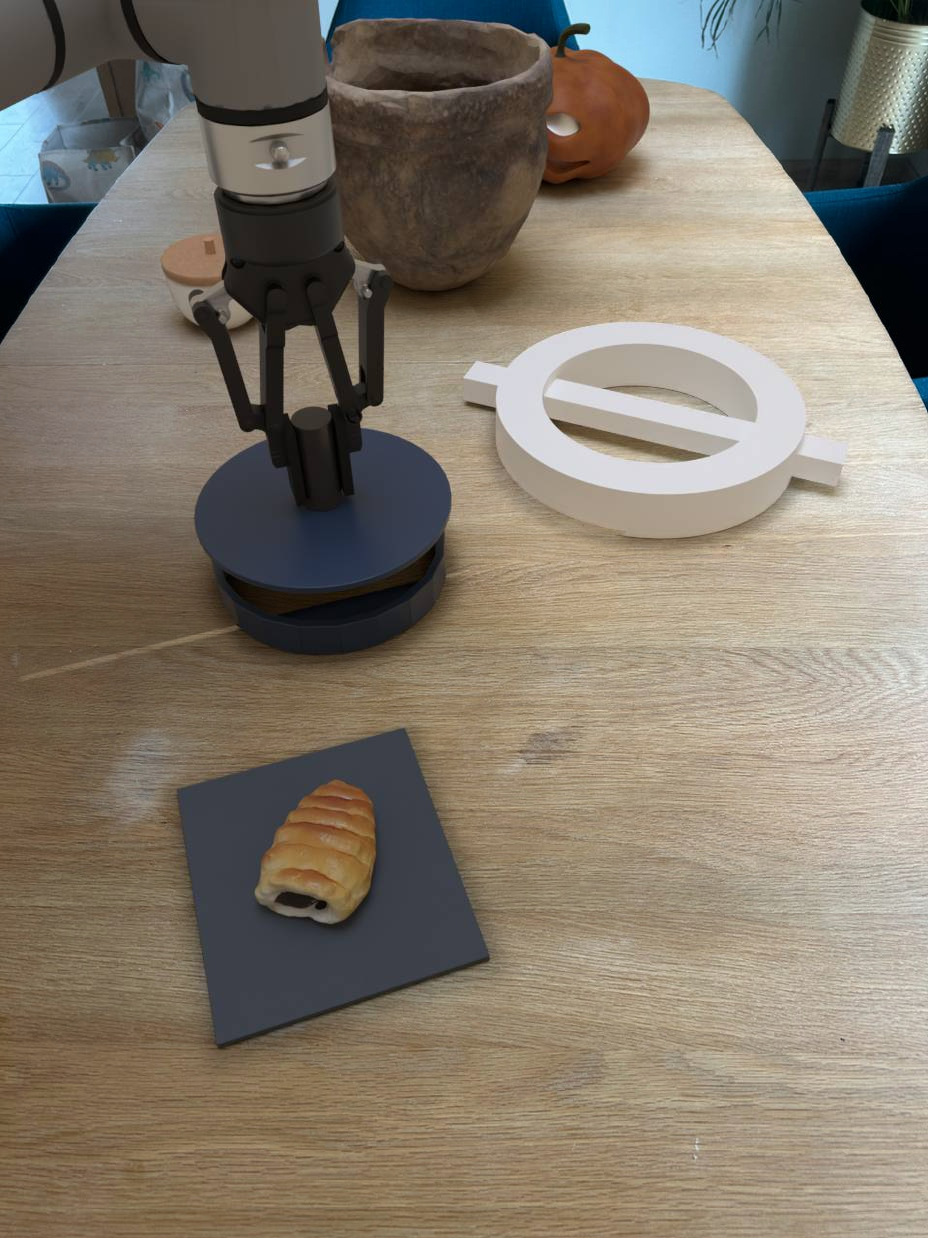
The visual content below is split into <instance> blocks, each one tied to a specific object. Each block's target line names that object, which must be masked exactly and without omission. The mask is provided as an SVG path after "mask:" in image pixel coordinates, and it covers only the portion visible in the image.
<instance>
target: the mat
mask: <svg viewBox="0 0 928 1238" xmlns="http://www.w3.org/2000/svg"><path fill="white" fill-rule="evenodd" d="M333 780H340V781H342V782H344V783H345V784H348V785H352V786H355V787H357V788H360V789H361V790H362V791H363V792H364V793H366V794H367V795H368V797H369V799H370V800H371V802H372V804H373V807H374V817H375V825H376V826H375V838H376V858H375V862H374V866H373V871H372V876H371V884H370V889H369V891H368V893H367V895H366V896H365V897H364V899H363V900H362V901H361V903H360V904H359V905H358V906H357V908H356V909H355V910H354V912H352V913H351V914H350V915H349V916H348V917H347V918H346V919H344V920H343V921H340V922H337V923H334V924H328V923H322V922H318V921H316V920H314V919H313V918H311V917H296V916H286V915H283V914H279V913H277V912H275V911H273V910H271V909H269V908H268V907H267V906H265V905H262V904H260V903H259V902H258V900H257V899H256V897H255V889H256V888H257V886H258V884H259V880H260V876H261V860H262V858H263V855H264V854H265V852H266V851H267V850H269V849H271V847H272V845H273V841H274V836H275V833H276V831H277V829H278V828H279V827H281V826H283V825H284V823H285V821H286V818H287V816H288V814H289V813H290V812H291V811H294V810H296V809H297V807H298V804H299V802H300V801H301V800H302V799H303V797H305V796H309V795H310V794H312V793H313V792H314V791H315V790H316V789H317V788H318V787H320V786H321V785H326V784H328V783H329V782H331V781H333ZM176 794H177V801H178V808H179V814H180V819H181V826H182V832H183V838H184V845H185V852H186V857H187V864H188V871H189V876H190V882H191V883H190V884H191V889H192V895H193V902H194V908H195V909H194V910H195V914H196V921H197V927H198V935H199V940H200V946H201V952H202V959H203V965H204V972H205V978H206V984H207V990H208V991H207V992H208V997H209V1004H210V1010H211V1016H212V1022H213V1030H214V1034H215V1041H216V1046H217V1048H219V1049H220V1048H221V1049H222V1048H223V1047H227V1046H229V1045H233V1044H236V1043H240V1042H243V1041H246V1040H248V1039H251V1038H254V1037H257V1036H260V1035H263V1034H266V1033H269V1032H273V1031H276V1030H279V1029H282V1028H284V1027H288V1026H290V1025H294V1024H297V1023H299V1022H303V1021H306V1020H309V1019H312V1018H315V1017H318V1016H321V1015H324V1014H328V1013H331V1012H334V1011H336V1010H339V1009H343V1008H347V1007H349V1006H352V1005H355V1004H358V1003H362V1002H364V1001H367V1000H370V999H373V998H376V997H379V996H383V995H386V994H388V993H392V992H394V991H398V990H401V989H404V988H407V987H410V986H413V985H416V984H419V983H423V982H426V981H429V980H431V979H435V978H437V977H440V976H444V975H446V974H450V973H453V972H456V971H459V970H462V969H465V968H468V967H471V966H474V965H477V964H480V963H484V962H486V961H489V960H490V958H491V957H490V952H489V950H488V947H487V944H486V942H485V939H484V937H483V934H482V931H481V928H480V926H479V923H478V921H477V918H476V914H475V912H474V909H473V907H472V904H471V902H470V899H469V896H468V893H467V891H466V889H465V886H464V883H463V880H462V877H461V874H460V872H459V869H458V866H457V864H456V861H455V859H454V855H453V853H452V851H451V848H450V845H449V842H448V839H447V837H446V834H445V831H444V829H443V826H442V824H441V821H440V818H439V815H438V813H437V810H436V807H435V804H434V802H433V799H432V797H431V794H430V791H429V788H428V785H427V783H426V781H425V778H424V774H423V772H422V770H421V767H420V764H419V760H418V758H417V756H416V754H415V751H414V748H413V745H412V743H411V740H410V738H409V734H408V732H407V730H406V727H401V728H398V729H394V730H391V731H387V732H384V733H383V732H382V733H379V734H376V735H371V736H368V737H365V738H360V739H357V740H353V741H349V742H346V743H342V744H338V745H334V746H331V747H327V748H324V749H320V750H317V751H312V752H309V753H305V754H301V755H297V756H294V757H291V758H286V759H283V760H279V761H276V762H272V763H268V764H265V765H264V764H263V765H260V766H257V767H254V768H250V769H249V768H248V769H246V770H242V771H239V772H234V773H231V774H227V775H223V776H219V777H216V778H212V779H209V780H205V781H201V782H198V783H193V784H190V785H187V786H183V787H178V788H176Z"/></svg>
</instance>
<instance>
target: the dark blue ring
mask: <svg viewBox="0 0 928 1238" xmlns="http://www.w3.org/2000/svg"><path fill="white" fill-rule="evenodd" d="M432 548H433V549H434V551H435V555H434V557H433V558H432V560H431V563H430V564H429V567H428V569H427V571H426V573H425V575H424V576H423V577H422V578H421V579H420V580H415V581H411V582H408V583H404V584H399V585H395V586H391V587H386V588H381V589H378V590H374V591H369V592H365V593H362V594H358V595H352V596H348V597H345V598H341V599H337V600H333V601H332V600H331V601H328V602H324V603H320V604H315V605H311V606H307V607H302V608H299V609H294V610H290V611H286V612H282V613H277V614H272V613H268V612H266V611H265V610H262V609H260V608H259V607H258V606H255V605H254V604H252V603H250V602H248V601H246V600H244V599H243V598H242V597H241V596H240V595H239V594H238V593H237V591H235V589H234V588H233V587H232V586H231V584H230V583H229V582H228V581H227V578H228V575H229V573H227V572H225V571H224V570H223V569H221V568H220V567H219V566H218V565H216V564H215V563H214V562H213V561H212V560H211V564H212V567H213V572H214V577H215V580H216V585H217V588H218V593H219V596H220V600H221V604H222V606H223V608H224V609H225V610H226V611H227V613H228V614H229V615H230V616H231V617H232V619H233V620H234V621H235V622H236V624H235V625H236V626H237V628H239V629H240V630H241V631H243V633H245V634H246V635H248V636H249V637H251V638H253V639H254V640H256V641H257V642H259V643H262V644H264V645H266V646H269V647H271V648H275V649H278V650H282V651H284V652H289V653H295V654H300V655H302V654H303V655H313V656H318V655H319V656H321V655H322V656H323V655H324V656H326V655H327V656H331V655H339V654H341V655H342V654H348V653H353V652H358V651H362V650H365V649H369V648H372V647H376V646H378V645H381V644H383V643H386V642H388V641H390V640H393V639H394V638H396V637H397V636H399V635H401V634H403V633H405V632H406V631H408V630H409V629H411V628H412V627H414V626H415V625H416V624H417V623H419V622H420V621H421V620H422V619H423V618H424V617H425V616H426V615H427V614H428V612H429V611H430V610H431V609H432V608H433V607H434V605H435V603H436V602H437V600H438V599H439V597H440V596H441V595H440V594H441V592H442V591H443V587H444V584H445V581H446V575H447V574H446V563H447V562H446V554H447V553H446V532H445V530H444V531H443V533H442V534H441V536H440V537H439V539H438V540H437V542H436V543H435V544H434V545H433V546H432Z"/></svg>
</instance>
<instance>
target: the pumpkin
mask: <svg viewBox="0 0 928 1238" xmlns="http://www.w3.org/2000/svg"><path fill="white" fill-rule="evenodd" d="M590 33H591V24H590V23H586V22H577V23H573V24H570V25H568V26H567V27H565V28H564V29H563V31H561V33H560V35H559V37H558V40H557V45H556V46H552V47H550V50H551V56H552V64H553V72H554V74H553V81H552V84H553V92H554V94H553V102H552V104H551V105H550V107H549V108H548V109H547V111H546V116H545V117H546V123H547V129H548V155H547V159H546V168H545V170H544V173H543V176H542V180H543V181H545V182H548V183H550V184H554V185H559V184H562V183H563V184H564V183H565V182H568V181H570V180H572V179H580V180H588V179H594V178H598V177H600V176H603V175H605V174H607V173H608V172H610V171H612V170H614V169H615V168H616V167H617V166H618V165H619V164H620V163H621V162H622V161H623V160H624V159H625V158H626V156H627V155H628V153H629V152H631V151H632V150H633V149H634V148H635V147H636V146H637V144H638V143H639V142H640V141H641V139H642V138H643V136H644V134H645V133H646V130H647V128H648V125H649V123H650V118H651V117H650V116H651V108H650V101H649V97H648V94H647V92H646V90H645V87H643V85H642V84H641V82H640V81H639V80H638V78H637V77H636V76H635V75H633V73H632V72H630V71H629V70H627V68H626V67H623V65H621V64H618V63H616V62H615V61H614V60H612V59H611V57H609V56H607V55H606V54H604V53H602V52H600V51H597V50H594V49H589V48H588V49H587V48H586V49H585V48H584V49H577V50H573V49H571V48H568V47H566V44H567V42H568V39H569V38H571V36H575V35H581V36H582V35H583V36H587V35H588V34H590Z"/></svg>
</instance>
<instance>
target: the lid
mask: <svg viewBox="0 0 928 1238" xmlns="http://www.w3.org/2000/svg"><path fill="white" fill-rule="evenodd" d="M290 421H291V424H292V426H293V429H294V431H295V435H296V441H297V447H298V453H299V459H300V465H301V471H302V477H303V483H304V489H305V495H306V501H307V505H305V506H300V507H297V505H296V502H295V499H294V496H293V493H292V490H291V487H290V482H289V477H288V471H287V467H282V468H277V469H276V468H275V466H274V465H273V463H272V460H271V457H270V454H269V450H268V445H267V440H266V439H264V440H261V441H259V442H257V443H255V444H253V445H251V446H249V447H247V448H245V449H243V450H241V451H240V452H238V453H237V454H235V455H233V456H232V457H230V458H229V459H227V460H226V461H225V462H224V463H222V464H221V466H219V468H217V470H215V471H214V472H213V473H212V475H210V477H209V478H208V479H207V481H206V482H205V483H204V485H203V487H202V488H201V491H200V493H199V494H198V497H197V499H196V502H195V503H196V504H195V505H194V515H193V520H194V529H195V533H196V535H197V538H198V541H199V544H200V546H201V548H202V550H203V551H204V553H205V554H206V555H207V556H208V557H209V558H210V560H211V562H212V561H213V562H214V563H215V564H216V565H218V566H219V567H220V568H221V569H223V570H224V571H225V572H227V573H228V575H231V576H232V577H234V578H235V579H237V580H239V581H242V582H244V583H246V584H249V585H252V586H255V587H259V588H261V589H265V590H269V591H275V592H281V593H287V594H288V593H290V594H301V595H302V594H327V593H337V592H343V591H347V590H348V591H349V590H352V589H358V588H360V587H364V586H368V585H371V584H375V583H377V582H379V581H382V580H384V579H388V578H389V577H392V576H393V575H395V574H397V573H399V572H401V571H403V570H405V569H406V568H408V567H409V566H411V565H412V564H414V563H416V562H417V561H418V560H420V559H421V558H422V557H423V556H424V555H426V554H427V553H428V552H429V551H430V550H431V549H432V548H433V545H434V544H435V543H436V542H437V540H438V539H439V537H440V536H441V534H442V533H443V531H445V529H446V527H447V525H448V522H449V520H450V516H451V512H452V502H453V501H452V499H453V498H452V497H453V496H452V495H453V494H452V489H451V483H450V481H449V478H448V476H447V474H446V472H445V471H444V469H443V468H442V466H441V464H440V463H439V462H438V461H437V460H436V459H435V458H434V457H433V456H432V455H431V454H430V453H429V452H427V451H426V450H425V449H423V448H422V447H420V446H419V445H417V444H416V443H413V442H412V441H410V440H407V439H406V438H403V437H401V436H398V435H396V434H395V435H394V434H392V433H389V432H386V431H381V430H377V429H372V428H365V427H361V435H362V444H363V445H362V448H361V451H357V452H352V453H350V460H351V468H352V476H353V484H354V492H355V495H351V496H346V497H345V495H344V492H343V490H342V486H341V479H340V471H339V464H338V456H337V449H336V441H335V434H334V426H333V419H332V414H331V413H330V411H328V408H325V407H322V406H315V405H314V406H313V405H312V406H306V407H303V408H300V409H297V410H296V411H295V412H294V413H292V415H291V416H290Z"/></svg>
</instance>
